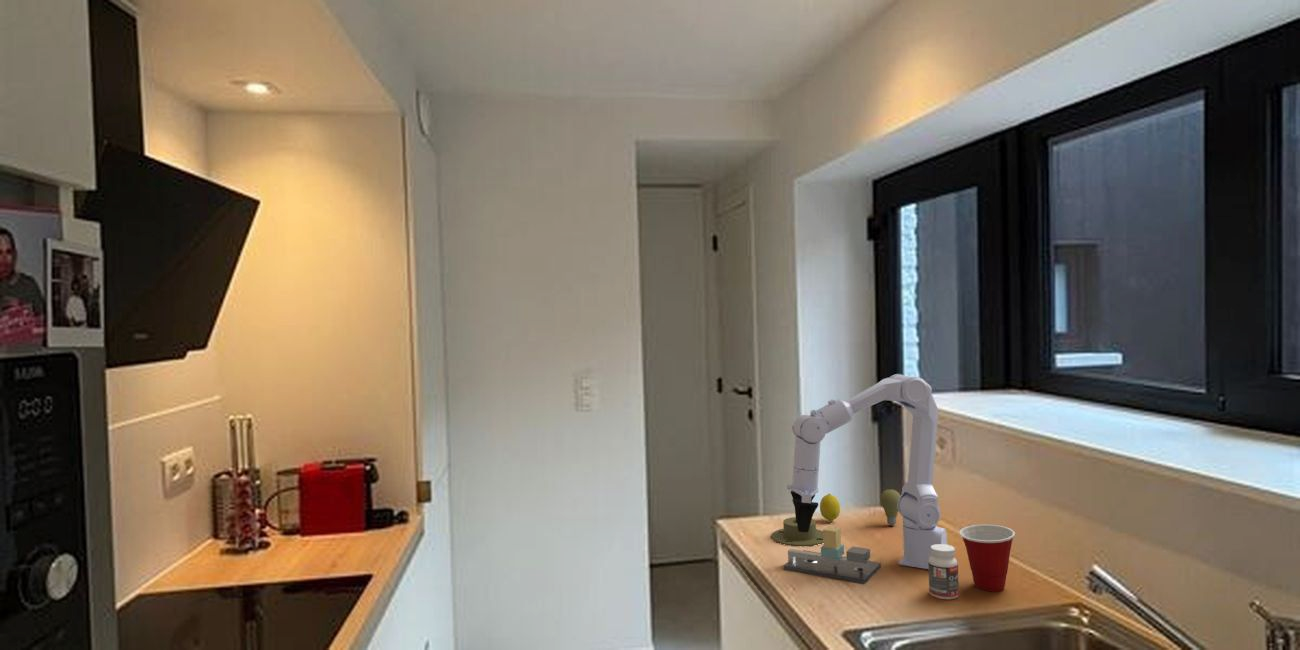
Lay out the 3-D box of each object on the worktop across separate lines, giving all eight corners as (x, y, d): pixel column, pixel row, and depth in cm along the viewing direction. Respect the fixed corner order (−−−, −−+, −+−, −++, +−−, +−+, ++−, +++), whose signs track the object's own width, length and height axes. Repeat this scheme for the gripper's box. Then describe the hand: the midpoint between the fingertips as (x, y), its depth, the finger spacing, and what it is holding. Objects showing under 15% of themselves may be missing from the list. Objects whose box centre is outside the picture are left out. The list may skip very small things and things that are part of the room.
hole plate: (881, 567, 168) (880, 562, 168) (864, 584, 158) (864, 578, 158) (803, 554, 178) (803, 549, 178) (783, 569, 169) (783, 564, 169)
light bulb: (882, 528, 197) (881, 492, 196) (879, 522, 202) (878, 487, 202) (904, 528, 196) (903, 492, 195) (900, 522, 201) (899, 487, 201)
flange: (760, 524, 191) (811, 533, 181) (788, 510, 202) (838, 519, 192) (760, 541, 191) (812, 552, 181) (789, 527, 202) (839, 536, 193)
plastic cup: (951, 579, 159) (949, 524, 159) (998, 575, 160) (997, 521, 159) (977, 598, 148) (975, 539, 148) (1027, 594, 149) (1026, 536, 149)
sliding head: (844, 564, 166) (843, 527, 166) (838, 570, 163) (837, 532, 163) (827, 562, 169) (826, 525, 168) (821, 567, 165) (820, 530, 165)
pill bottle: (956, 602, 146) (954, 553, 146) (926, 597, 149) (925, 549, 149) (961, 592, 151) (959, 545, 151) (932, 587, 154) (930, 541, 154)
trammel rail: (872, 571, 163) (872, 549, 163) (867, 576, 159) (866, 554, 159) (793, 557, 173) (792, 537, 173) (786, 562, 170) (786, 541, 170)
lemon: (841, 524, 201) (840, 496, 201) (820, 524, 202) (819, 496, 202) (839, 519, 207) (838, 491, 207) (820, 518, 208) (819, 491, 208)
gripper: (786, 460, 174) (783, 517, 174) (789, 472, 159) (785, 534, 159) (816, 463, 173) (813, 520, 173) (822, 475, 158) (818, 537, 158)
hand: (802, 527), depth 166 cm, fingers open, 7 cm apart
